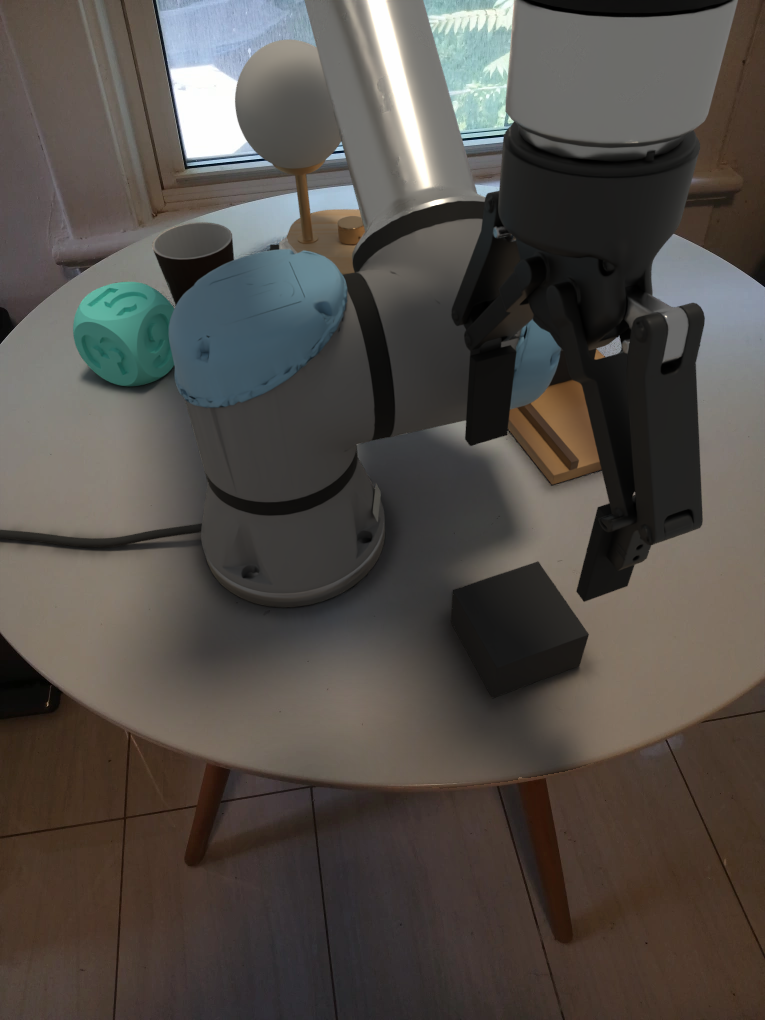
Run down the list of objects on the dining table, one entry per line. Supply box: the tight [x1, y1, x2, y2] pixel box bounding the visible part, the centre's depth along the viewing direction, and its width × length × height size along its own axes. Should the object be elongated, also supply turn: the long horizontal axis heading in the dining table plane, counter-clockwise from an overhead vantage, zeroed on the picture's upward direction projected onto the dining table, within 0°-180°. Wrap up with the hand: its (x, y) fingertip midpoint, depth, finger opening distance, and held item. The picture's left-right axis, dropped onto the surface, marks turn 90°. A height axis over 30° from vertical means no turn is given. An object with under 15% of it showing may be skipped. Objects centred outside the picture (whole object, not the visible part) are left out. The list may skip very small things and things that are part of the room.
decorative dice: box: [72, 281, 175, 387], centre depth 78 cm, size 8×8×8 cm
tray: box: [508, 348, 606, 485], centre depth 73 cm, size 14×20×2 cm
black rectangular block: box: [450, 561, 590, 699], centre depth 53 cm, size 7×7×4 cm
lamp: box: [234, 39, 365, 275], centre depth 85 cm, size 33×17×25 cm, turn 86°
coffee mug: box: [151, 221, 235, 306], centre depth 84 cm, size 12×9×10 cm
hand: (537, 505), depth 44 cm, fingers open, 13 cm apart
